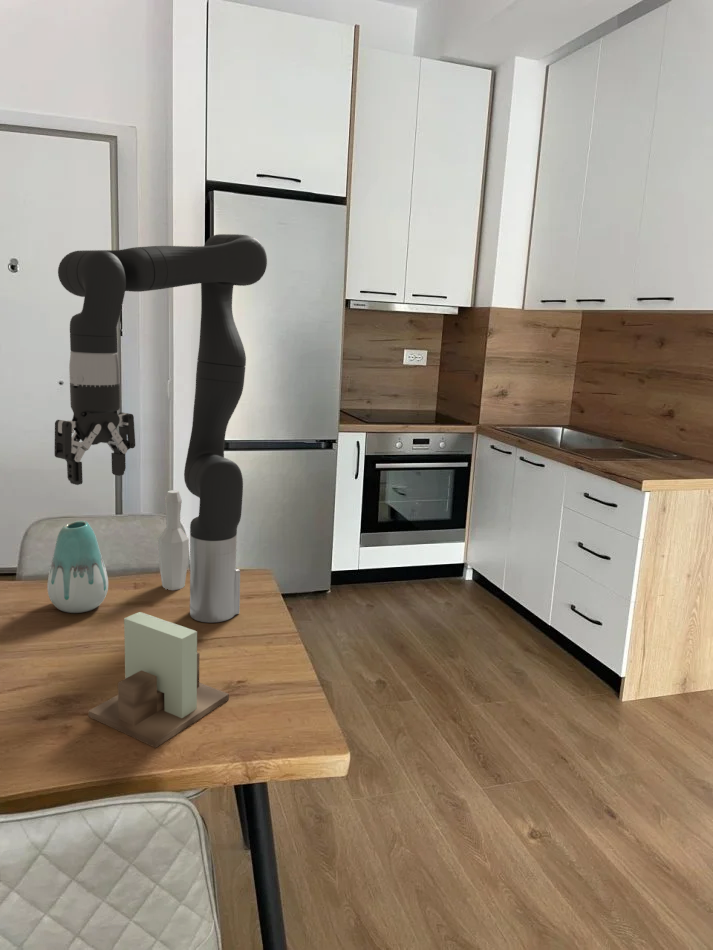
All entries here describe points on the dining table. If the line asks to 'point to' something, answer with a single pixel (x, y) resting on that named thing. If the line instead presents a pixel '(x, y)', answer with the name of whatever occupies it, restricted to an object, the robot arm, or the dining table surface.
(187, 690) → the upright sage green panel
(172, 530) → the faceted bottle
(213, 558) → the robot arm
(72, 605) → the vase
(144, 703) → the slot plate
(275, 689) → the dining table surface
